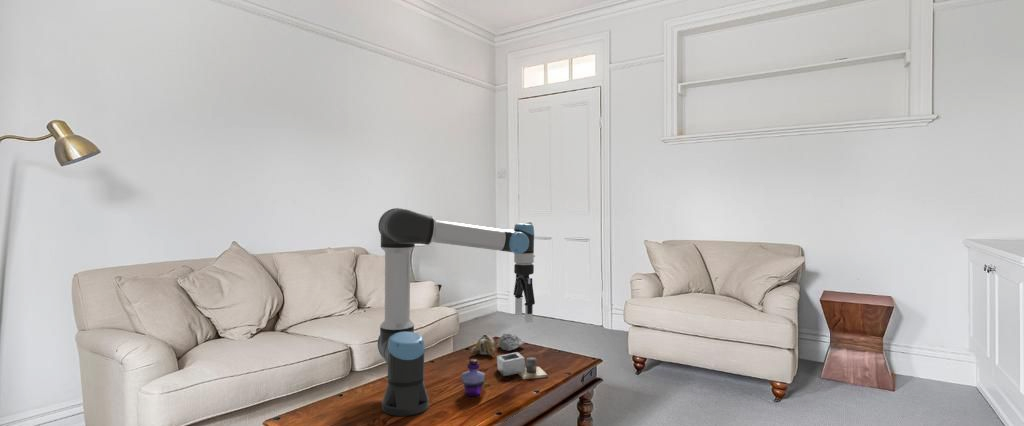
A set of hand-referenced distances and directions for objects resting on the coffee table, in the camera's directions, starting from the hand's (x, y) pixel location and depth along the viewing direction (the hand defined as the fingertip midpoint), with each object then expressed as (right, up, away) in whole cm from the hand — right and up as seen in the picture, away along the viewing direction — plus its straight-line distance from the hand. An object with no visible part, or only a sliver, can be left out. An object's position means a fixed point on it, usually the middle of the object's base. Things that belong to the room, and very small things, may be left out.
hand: (523, 318), depth 205 cm
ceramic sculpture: (-17, -22, +30) cm, 40 cm away
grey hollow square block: (-5, -22, +5) cm, 23 cm away
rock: (-5, -22, +39) cm, 45 cm away
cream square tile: (+3, -23, +3) cm, 23 cm away
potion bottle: (-18, -23, -19) cm, 35 cm away
